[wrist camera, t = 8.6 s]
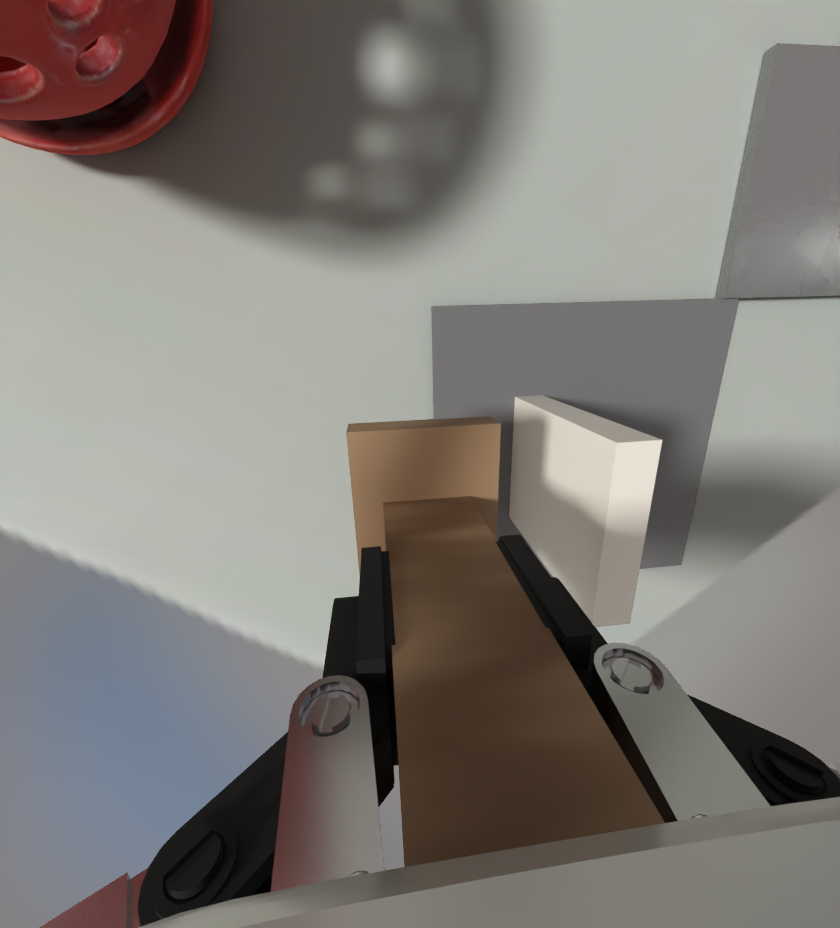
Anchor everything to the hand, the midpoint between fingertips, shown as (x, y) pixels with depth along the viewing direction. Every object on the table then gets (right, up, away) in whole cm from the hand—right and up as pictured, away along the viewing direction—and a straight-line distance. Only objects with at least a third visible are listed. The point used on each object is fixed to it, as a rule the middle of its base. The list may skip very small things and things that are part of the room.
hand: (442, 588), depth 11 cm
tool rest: (+21, +17, +8) cm, 28 cm away
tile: (+5, +4, +11) cm, 12 cm away
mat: (+8, +4, +11) cm, 14 cm away
